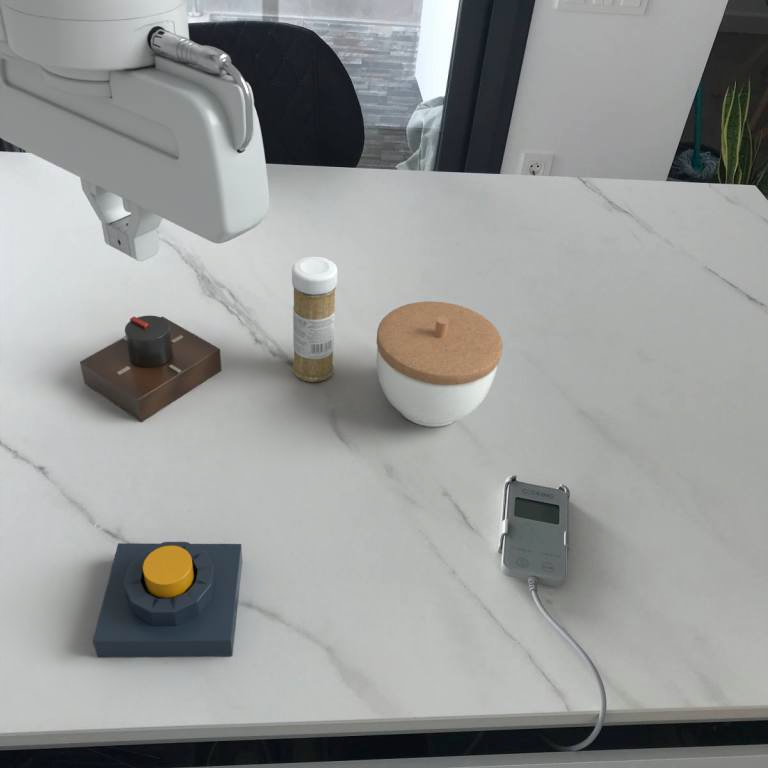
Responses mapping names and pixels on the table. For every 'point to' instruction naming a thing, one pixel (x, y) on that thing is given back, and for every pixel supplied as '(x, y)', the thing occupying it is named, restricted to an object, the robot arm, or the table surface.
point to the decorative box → (436, 361)
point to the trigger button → (168, 571)
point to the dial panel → (151, 373)
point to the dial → (148, 341)
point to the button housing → (170, 605)
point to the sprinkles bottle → (313, 317)
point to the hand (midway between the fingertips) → (132, 250)
